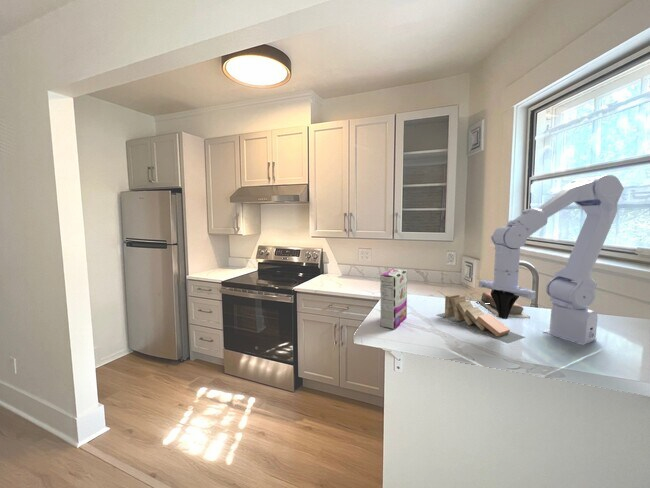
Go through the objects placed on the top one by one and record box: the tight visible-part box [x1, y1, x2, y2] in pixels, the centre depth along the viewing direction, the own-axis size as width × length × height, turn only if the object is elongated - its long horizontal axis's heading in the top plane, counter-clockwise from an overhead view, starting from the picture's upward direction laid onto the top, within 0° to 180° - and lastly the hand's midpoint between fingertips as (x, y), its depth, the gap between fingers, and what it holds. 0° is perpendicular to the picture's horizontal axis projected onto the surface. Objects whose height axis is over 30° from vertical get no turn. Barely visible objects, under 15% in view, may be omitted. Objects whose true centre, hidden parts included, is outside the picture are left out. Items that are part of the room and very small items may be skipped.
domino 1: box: [444, 293, 461, 318], centre depth 96 cm, size 1×5×7 cm, turn 117°
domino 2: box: [451, 296, 467, 321], centre depth 93 cm, size 1×5×7 cm, turn 117°
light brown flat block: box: [465, 306, 487, 331], centre depth 87 cm, size 1×5×7 cm
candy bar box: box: [380, 268, 408, 330], centre depth 91 cm, size 11×5×16 cm, turn 146°
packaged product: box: [476, 291, 531, 319], centre depth 103 cm, size 18×5×10 cm
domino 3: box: [456, 300, 475, 325], centre depth 91 cm, size 1×5×7 cm
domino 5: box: [476, 312, 511, 337], centre depth 84 cm, size 1×5×7 cm
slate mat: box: [436, 312, 526, 344], centre depth 89 cm, size 24×8×1 cm, turn 27°
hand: (503, 317), depth 81 cm, fingers closed
